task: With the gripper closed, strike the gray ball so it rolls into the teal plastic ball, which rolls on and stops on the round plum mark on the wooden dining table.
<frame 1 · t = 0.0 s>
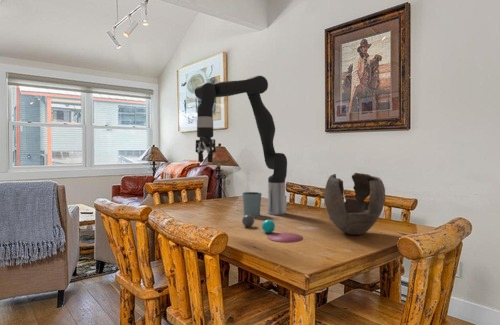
hand: (205, 162, 157), 29 cm above the table, tool pointing down, fingers open, 8 cm apart
drinking glass: (252, 215, 181), on the table
teal ball: (268, 226, 143), on the table
plum mark: (284, 237, 135), on the table
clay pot: (354, 235, 140), on the table
gray ball: (248, 220, 154), on the table
mug: (334, 220, 170), on the table
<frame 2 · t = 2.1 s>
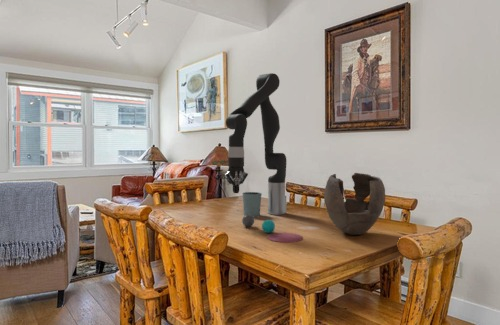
hand: (236, 193, 161), 14 cm above the table, tool pointing down, fingers closed
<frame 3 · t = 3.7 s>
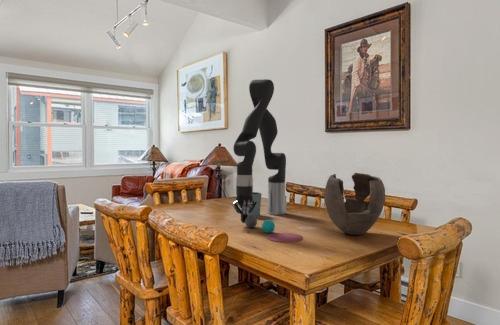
hand: (244, 222, 155), 2 cm above the table, tool pointing down, fingers closed
gray ball: (251, 221, 152), on the table, touching gripper
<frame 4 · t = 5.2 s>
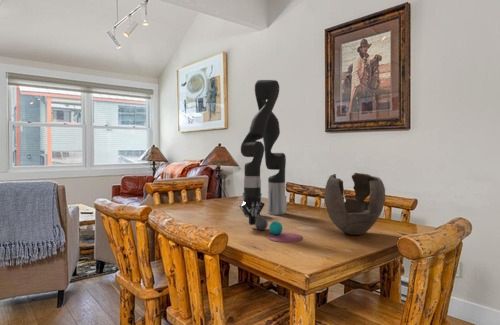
hand: (252, 224, 151), 1 cm above the table, tool pointing down, fingers closed
teal ball: (275, 228, 139), on the table
gray ball: (261, 223, 147), on the table
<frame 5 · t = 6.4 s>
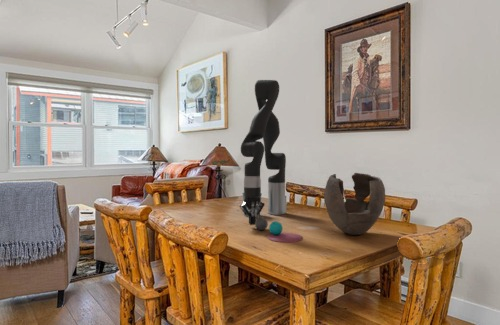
hand: (252, 224, 151), 1 cm above the table, tool pointing down, fingers closed
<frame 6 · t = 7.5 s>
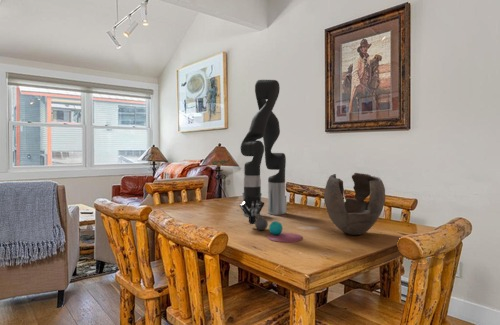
hand: (252, 223, 151), 2 cm above the table, tool pointing down, fingers closed
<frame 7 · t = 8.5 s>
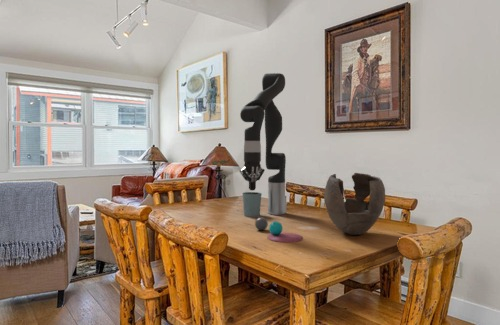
hand: (252, 190, 151), 17 cm above the table, tool pointing down, fingers closed
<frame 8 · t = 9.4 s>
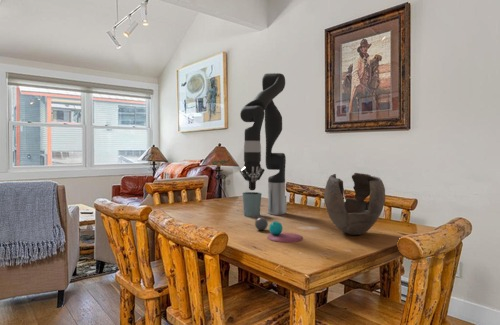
hand: (252, 190, 151), 17 cm above the table, tool pointing down, fingers closed
at the end: teal ball 5.4 cm from the plum mark (horizontally); teal ball never touched the robot; gray ball first touched teal ball at 4.0 s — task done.
